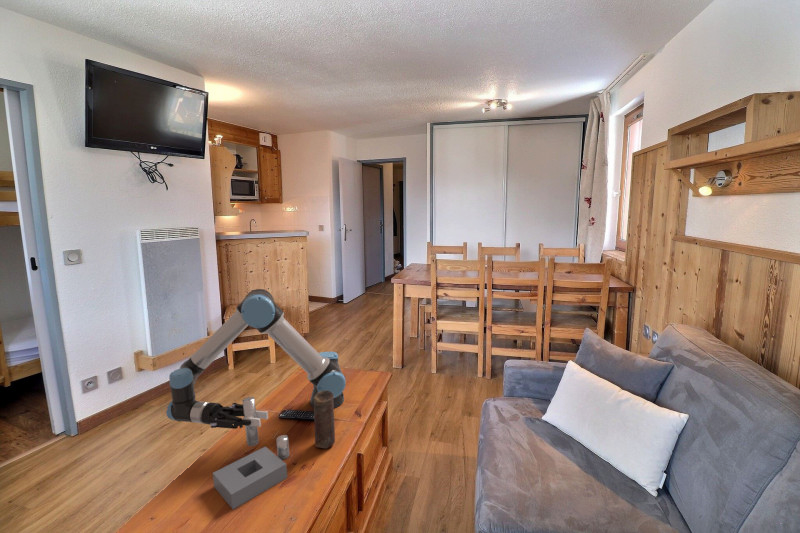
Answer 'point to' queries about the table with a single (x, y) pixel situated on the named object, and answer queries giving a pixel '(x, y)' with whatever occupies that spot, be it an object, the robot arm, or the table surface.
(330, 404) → the brown textured cylinder
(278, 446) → the short pin
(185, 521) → the table surface
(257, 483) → the guide block
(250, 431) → the long pin
